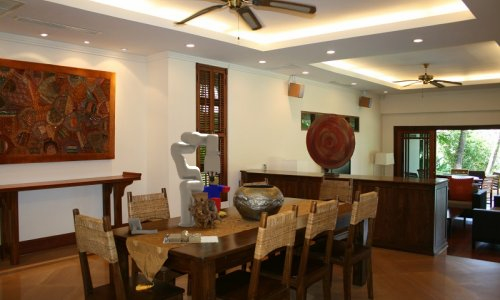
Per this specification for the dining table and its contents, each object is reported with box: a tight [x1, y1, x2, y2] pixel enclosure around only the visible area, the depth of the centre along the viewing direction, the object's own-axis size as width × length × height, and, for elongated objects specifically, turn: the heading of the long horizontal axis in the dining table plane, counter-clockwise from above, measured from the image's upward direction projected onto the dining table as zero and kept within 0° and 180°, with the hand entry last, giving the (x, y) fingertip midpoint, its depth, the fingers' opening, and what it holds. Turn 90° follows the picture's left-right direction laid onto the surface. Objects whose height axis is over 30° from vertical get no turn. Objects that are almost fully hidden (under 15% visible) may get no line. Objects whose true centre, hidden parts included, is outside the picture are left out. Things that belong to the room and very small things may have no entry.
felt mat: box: [162, 235, 219, 244], centre depth 252 cm, size 15×32×1 cm, turn 97°
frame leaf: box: [168, 229, 190, 244], centre depth 251 cm, size 12×11×4 cm
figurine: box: [199, 176, 231, 218], centre depth 338 cm, size 22×22×30 cm
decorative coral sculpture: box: [188, 197, 224, 229], centre depth 297 cm, size 26×23×30 cm
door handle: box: [127, 217, 158, 235], centre depth 270 cm, size 18×8×20 cm
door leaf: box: [183, 231, 202, 242], centre depth 252 cm, size 12×11×4 cm
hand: (212, 182), depth 269 cm, fingers closed
